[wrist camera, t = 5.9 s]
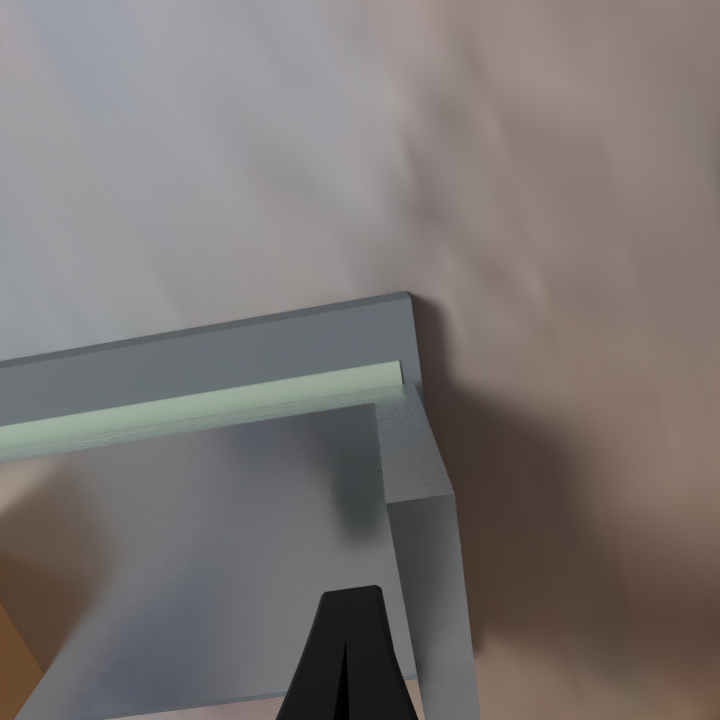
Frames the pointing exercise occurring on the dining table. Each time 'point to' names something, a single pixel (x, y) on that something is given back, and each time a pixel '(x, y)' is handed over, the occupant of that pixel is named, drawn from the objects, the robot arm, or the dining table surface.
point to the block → (15, 669)
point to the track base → (210, 379)
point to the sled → (231, 553)
